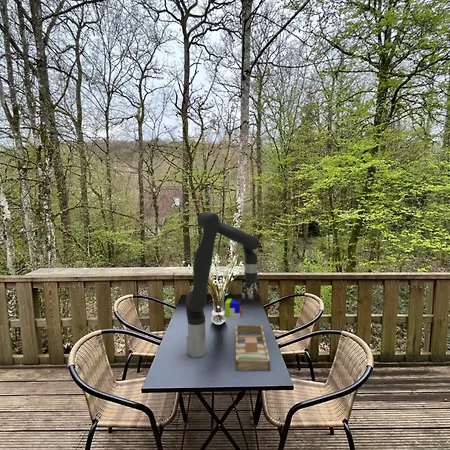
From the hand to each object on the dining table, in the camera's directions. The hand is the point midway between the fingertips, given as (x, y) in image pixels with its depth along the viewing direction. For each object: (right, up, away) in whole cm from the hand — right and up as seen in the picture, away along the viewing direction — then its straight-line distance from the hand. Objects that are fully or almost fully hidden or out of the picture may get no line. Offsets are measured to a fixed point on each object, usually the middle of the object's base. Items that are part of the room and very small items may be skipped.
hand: (250, 298), depth 172 cm
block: (-1, -23, -17) cm, 28 cm away
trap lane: (-1, -24, -12) cm, 27 cm away
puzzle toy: (-9, -21, +36) cm, 42 cm away
